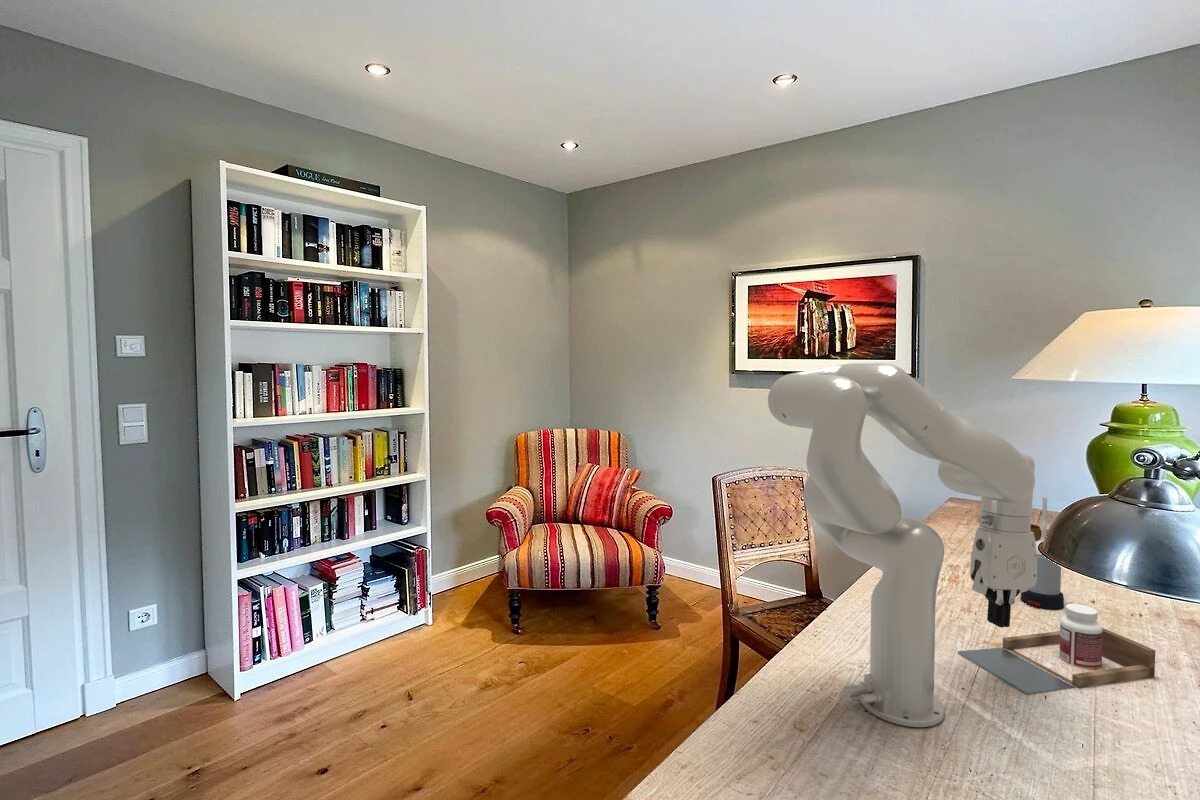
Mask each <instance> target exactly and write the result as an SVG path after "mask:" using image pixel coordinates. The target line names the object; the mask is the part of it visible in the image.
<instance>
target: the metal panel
mask: <svg viewBox="0 0 1200 800" xmlns="http://www.w3.org/2000/svg"><path fill="white" fill-rule="evenodd" d="M957 655H959V656H961V657H963V658H965V660H968V661H969V662H971V663H973V664H975V665H976V666H978V667H979V668H981V669H982V670H984V671H985V672H988V673H989V674H990V675H992V676H994V677H996V678H997V679H998V680H1001V681H1002V682H1004V683H1005V684H1008V686H1010V687H1012V688H1014V689H1016V690H1018V691H1019V692H1021V693H1023V694H1024V695H1026V696H1029V695H1037V694H1043V693H1050V692H1051V693H1053V692H1058V691H1064V690H1072V689H1076V688H1077V687H1075V686H1073V685H1072V684H1070V683H1068V682H1066V681H1064V680H1062V679H1061V678H1059V677H1057V676H1055V675H1053V674H1051V673H1049V672H1048V671H1046V670H1044V669H1042V668H1040V667H1038V666H1037V665H1035V664H1033V663H1031V662H1029V661H1027V660H1025V659H1024V658H1022V657H1020V656H1018V655H1016V654H1014V653H1013V652H1011V651H1009V650H1007V649H1005V648H1003V647H995V648H994V647H993V648H981V649H979V648H978V649H968V650H958V651H957Z"/></svg>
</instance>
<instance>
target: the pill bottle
mask: <svg viewBox="0 0 1200 800" xmlns="http://www.w3.org/2000/svg"><path fill="white" fill-rule="evenodd" d="M1064 613H1065V616H1062V617H1061V618H1060V620H1059V621H1060V622H1059V631H1060V643H1059V653H1058V654H1059V655H1058V656H1059V658H1060V660H1062V662H1064V663H1066V664H1068V665H1071V666H1073V667H1077V668H1081V669H1086V670H1098V669H1101V668H1102V665H1103V663H1102V662H1103V660H1102V659H1103V656H1102V628H1103V627H1102V625H1101V624H1100V623H1099V622H1098V621H1097V620H1098V617H1099V616H1098V613H1099V612H1098V611H1097V609H1095V608H1094V607H1090V606H1088V605H1084V604H1077V603H1069V604H1066V605H1065V609H1064Z"/></svg>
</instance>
